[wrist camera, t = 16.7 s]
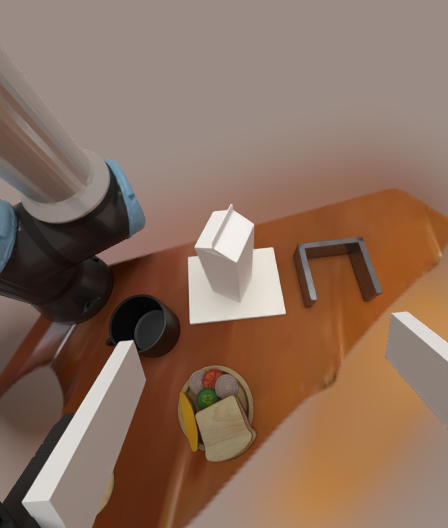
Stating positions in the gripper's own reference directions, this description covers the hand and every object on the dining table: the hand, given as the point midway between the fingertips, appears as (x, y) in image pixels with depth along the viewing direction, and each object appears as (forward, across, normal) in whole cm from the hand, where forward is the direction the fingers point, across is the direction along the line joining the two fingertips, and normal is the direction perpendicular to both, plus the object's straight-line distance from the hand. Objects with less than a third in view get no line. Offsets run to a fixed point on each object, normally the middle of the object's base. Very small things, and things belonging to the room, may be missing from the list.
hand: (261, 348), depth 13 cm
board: (+35, -2, -13) cm, 37 cm away
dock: (+34, +18, -14) cm, 40 cm away
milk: (+34, -2, -12) cm, 36 cm away
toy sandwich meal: (+20, -6, -28) cm, 35 cm away
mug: (+29, -18, -19) cm, 39 cm away
